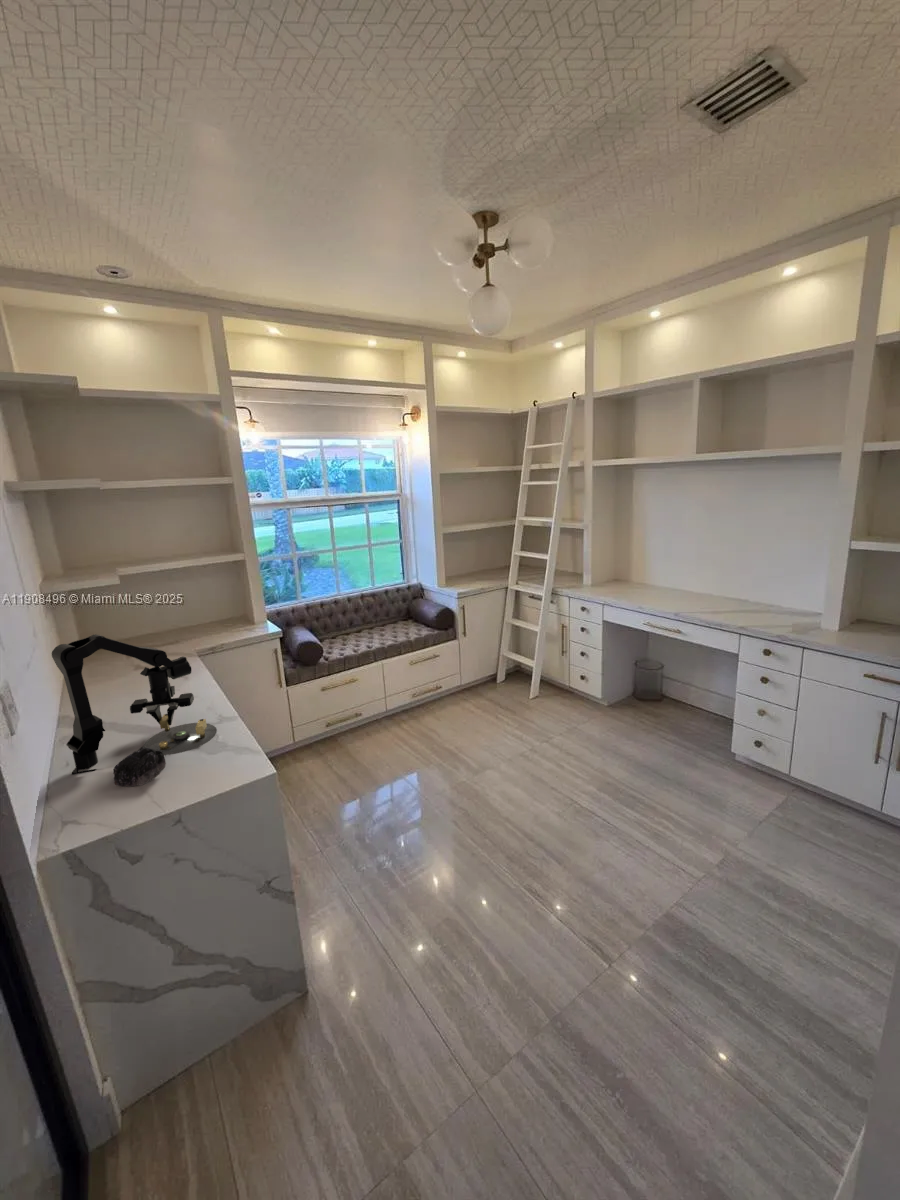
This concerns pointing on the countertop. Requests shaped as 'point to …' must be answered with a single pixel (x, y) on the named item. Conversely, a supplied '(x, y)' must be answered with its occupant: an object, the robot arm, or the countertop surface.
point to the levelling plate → (180, 739)
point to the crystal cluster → (139, 767)
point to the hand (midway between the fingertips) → (166, 725)
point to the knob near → (201, 727)
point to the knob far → (165, 723)
